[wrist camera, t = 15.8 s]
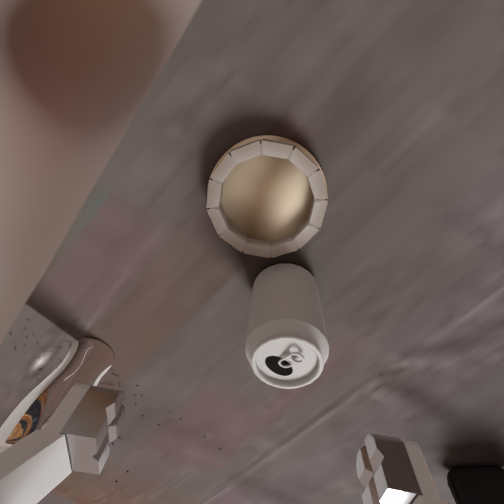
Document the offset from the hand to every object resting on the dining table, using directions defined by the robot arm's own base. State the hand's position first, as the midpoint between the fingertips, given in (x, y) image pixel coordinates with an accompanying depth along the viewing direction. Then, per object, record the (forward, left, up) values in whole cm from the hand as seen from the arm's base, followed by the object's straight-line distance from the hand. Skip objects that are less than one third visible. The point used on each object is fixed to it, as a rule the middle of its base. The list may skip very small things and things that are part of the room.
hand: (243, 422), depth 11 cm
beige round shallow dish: (0, 0, -25) cm, 25 cm away
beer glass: (+20, +27, -25) cm, 42 cm away
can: (-4, +10, -25) cm, 28 cm away
